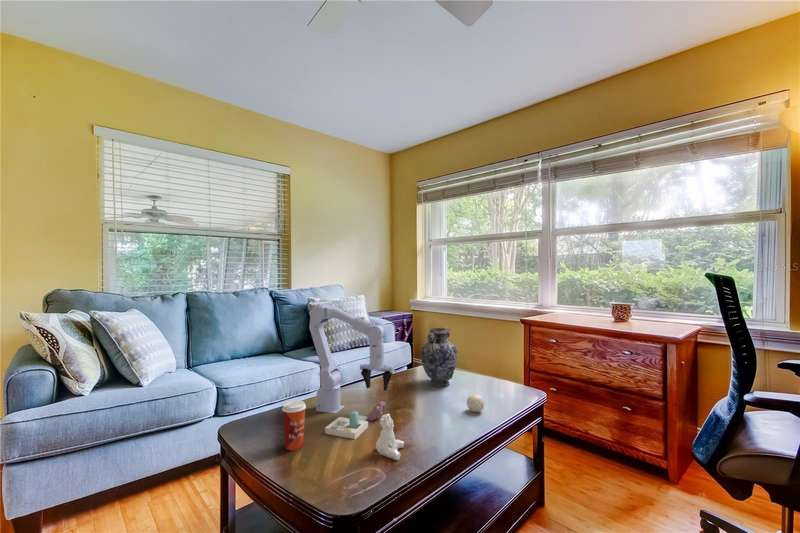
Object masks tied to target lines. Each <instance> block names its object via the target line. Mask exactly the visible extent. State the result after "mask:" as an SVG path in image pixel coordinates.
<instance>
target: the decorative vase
mask: <svg viewBox="0 0 800 533" xmlns="http://www.w3.org/2000/svg"><path fill="white" fill-rule="evenodd" d="M449 337H450V329H449V327H433V328H430V330H429V331H428V334H427V342H425V343H424V344H423V345H422V347H421V351H420V360H421V365H422V368H423V370H424V372H425V374H426V376H427V377H428V378H429V379H430V380H429V381H428V384H429V385H430V386H432V387H437V388H442V387H443V388H444V387H448V386H450V384H451V383H450V380H452V379H453V375H454V373H455V369H456V366H457V362H458V352H457V351H458V350H457V348H456V346H455V345H454V343H452V342H450V341H449V340H448V338H449Z"/></svg>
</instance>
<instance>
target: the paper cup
mask: <svg viewBox="0 0 800 533" xmlns="http://www.w3.org/2000/svg"><path fill="white" fill-rule="evenodd" d="M306 408H307V405H306V403H305V402H304V401H303V400H299V399H296V400H290V401H287V402H285V403H284V404H283V405H282V408H281V411H282V414H283V417H282V418H283V430H284V432H283V434H284V444H285V449H286V450H287V451H297V450H300V449H301V448H302V447H303V446H304V439H305V422H306V421H305V420H306Z"/></svg>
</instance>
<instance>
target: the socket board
mask: <svg viewBox="0 0 800 533" xmlns="http://www.w3.org/2000/svg"><path fill="white" fill-rule="evenodd" d="M368 428H369V420H365V421H363V420H358V428H357V429H353V428H349V417H343V416H339V417H337V418H335V420H333V421H332V422H330V423H329V424H328V425H327V426H326V427H324V434H325V435H330V436H336V437H341V438H347V439H353V440H356V439H357V438H358V437H359V436H361V434H363V432H364V431H365V430H366V429H368Z"/></svg>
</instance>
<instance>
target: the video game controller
mask: <svg viewBox="0 0 800 533" xmlns="http://www.w3.org/2000/svg"><path fill="white" fill-rule="evenodd" d="M386 406H387V403H386V402H385V401H382V400H380V401H379V402H377V404H376V406H374V407H373V409H372V412H371V413H370V414H368V416H366V417H367V419H366V421H368V422H369V421H370V422H371V421H373V422H374V421H375V420H376V419H379V418H380V417H381V416H383V415H384V414H383V411H384V410H385V407H386Z"/></svg>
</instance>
